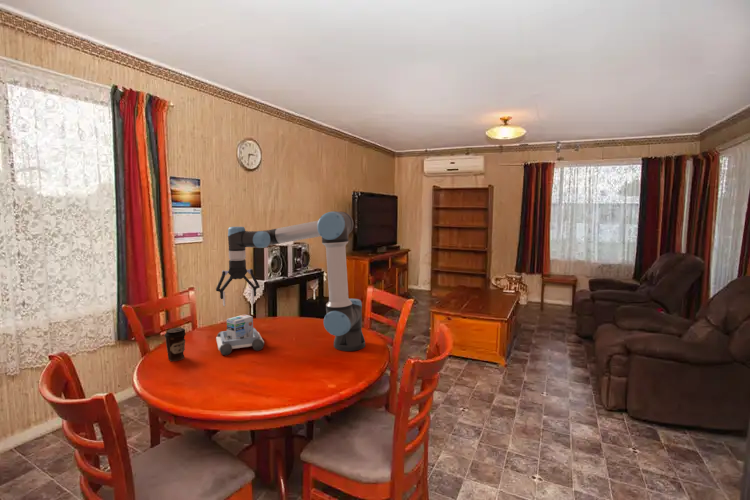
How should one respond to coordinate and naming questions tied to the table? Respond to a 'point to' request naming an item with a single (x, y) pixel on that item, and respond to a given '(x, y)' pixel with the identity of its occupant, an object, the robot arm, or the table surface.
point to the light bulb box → (240, 327)
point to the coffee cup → (175, 343)
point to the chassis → (238, 342)
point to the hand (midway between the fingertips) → (238, 304)
